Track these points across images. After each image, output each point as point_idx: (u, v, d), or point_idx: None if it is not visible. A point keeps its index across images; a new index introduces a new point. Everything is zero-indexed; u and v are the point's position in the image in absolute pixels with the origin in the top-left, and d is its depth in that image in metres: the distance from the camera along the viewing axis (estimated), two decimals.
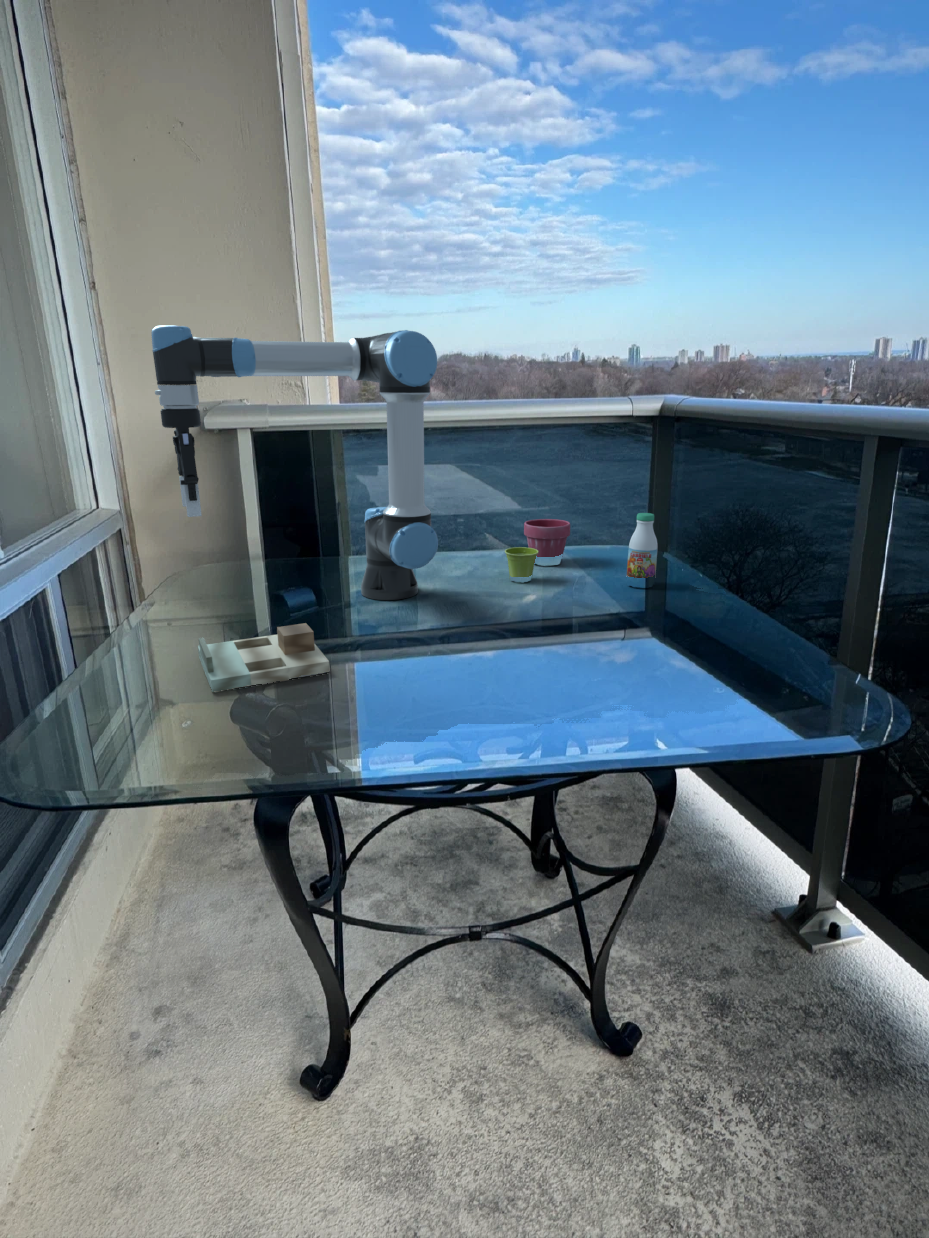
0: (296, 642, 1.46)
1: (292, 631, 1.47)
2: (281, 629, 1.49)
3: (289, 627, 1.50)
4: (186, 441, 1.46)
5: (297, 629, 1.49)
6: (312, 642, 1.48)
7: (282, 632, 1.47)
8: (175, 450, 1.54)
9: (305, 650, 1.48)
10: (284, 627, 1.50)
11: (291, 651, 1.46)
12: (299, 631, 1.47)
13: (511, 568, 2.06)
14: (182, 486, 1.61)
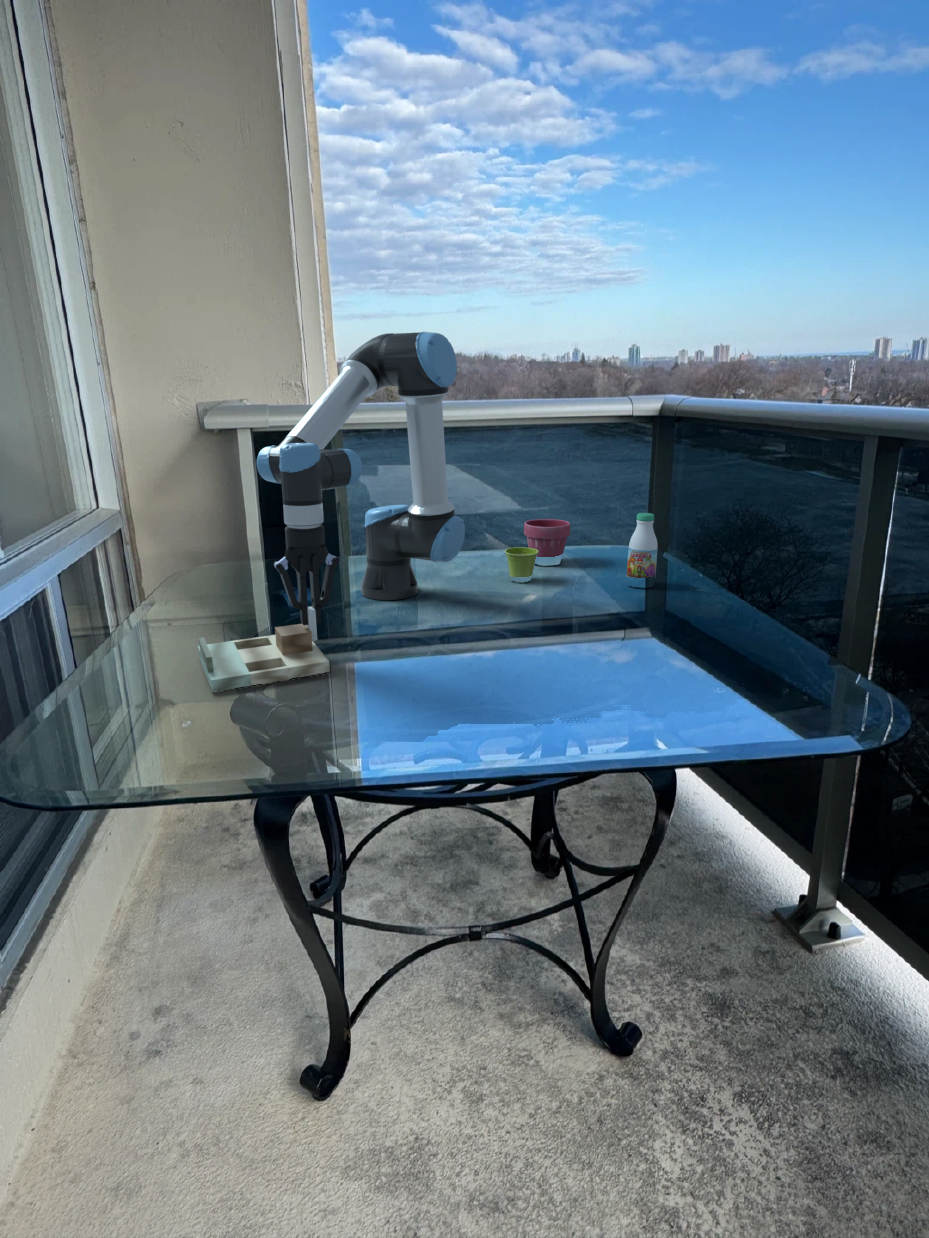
0: (294, 643, 1.46)
1: (290, 632, 1.47)
2: (279, 629, 1.48)
3: (287, 627, 1.50)
4: None
5: (295, 629, 1.49)
6: (310, 642, 1.48)
7: (280, 632, 1.47)
8: None
9: (303, 650, 1.48)
10: (282, 627, 1.50)
11: (289, 651, 1.46)
12: (296, 631, 1.47)
13: (511, 568, 2.06)
14: None
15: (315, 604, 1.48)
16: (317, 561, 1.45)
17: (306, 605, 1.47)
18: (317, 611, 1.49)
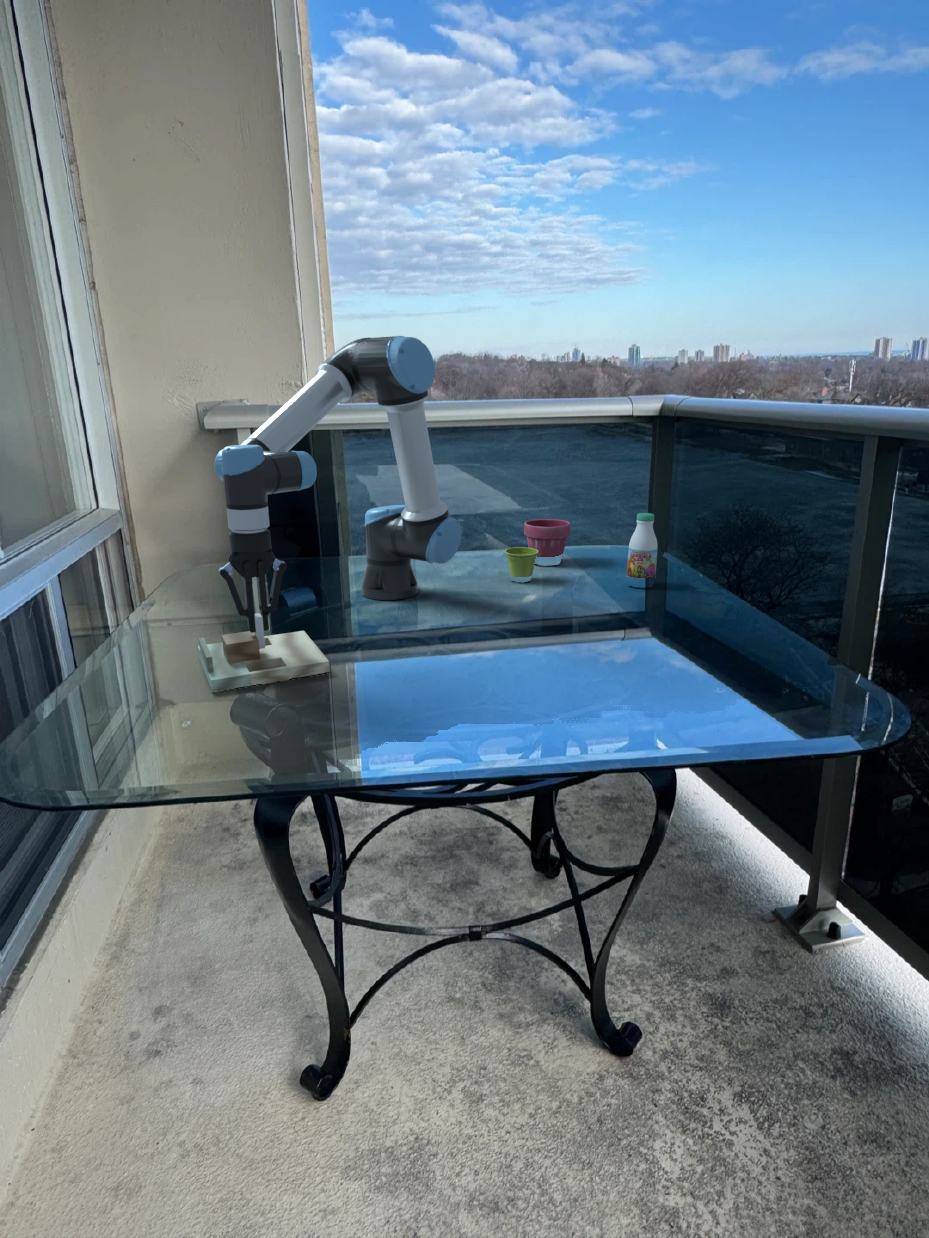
0: (240, 651, 1.42)
1: (236, 639, 1.43)
2: (226, 637, 1.44)
3: (234, 635, 1.45)
4: None
5: (242, 637, 1.44)
6: (257, 650, 1.43)
7: (226, 640, 1.42)
8: None
9: (250, 659, 1.43)
10: (229, 635, 1.45)
11: (235, 659, 1.42)
12: (243, 639, 1.43)
13: (511, 568, 2.06)
14: None
15: (262, 611, 1.43)
16: (263, 567, 1.40)
17: (253, 612, 1.43)
18: (264, 618, 1.44)
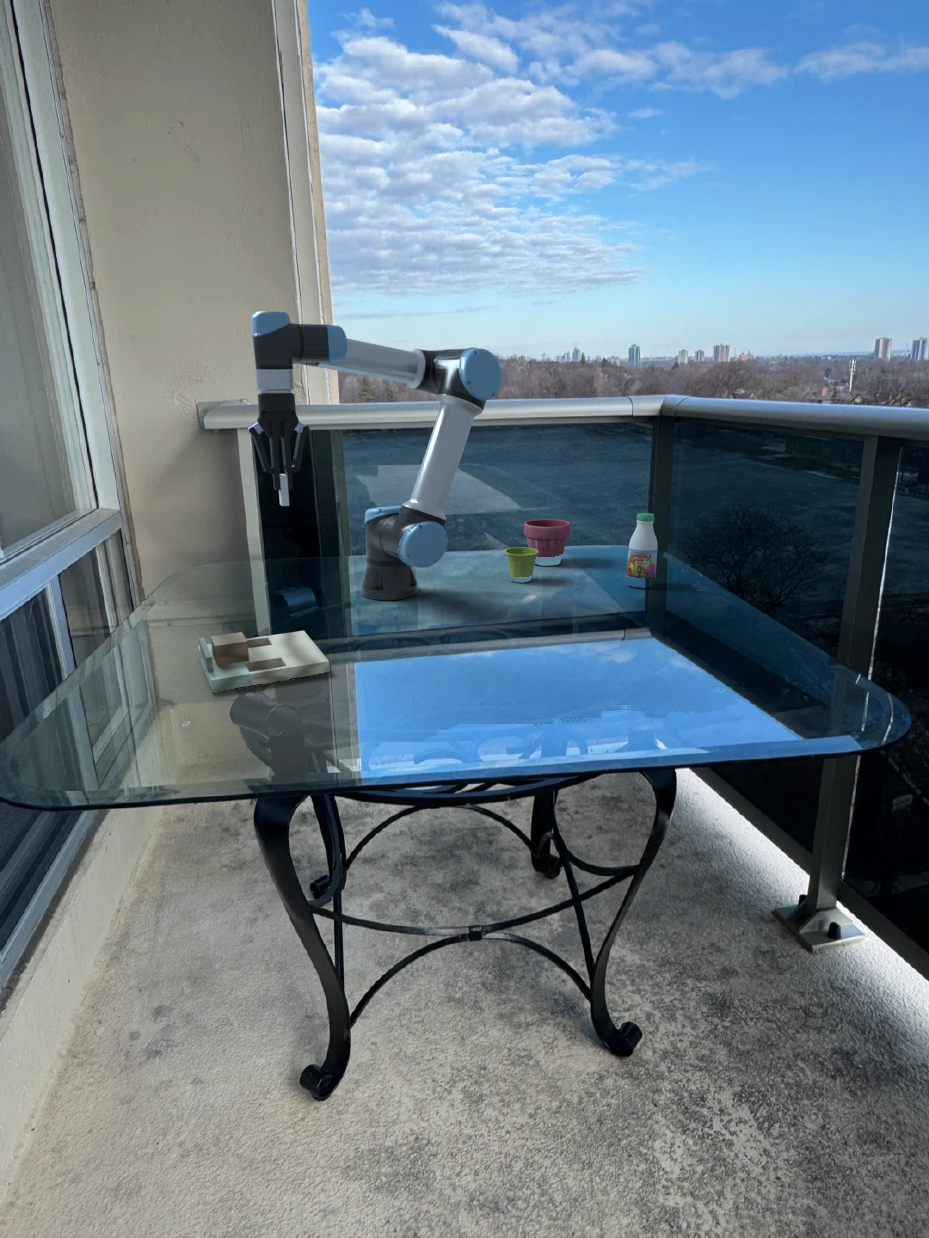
0: (229, 652, 1.41)
1: (225, 641, 1.42)
2: (214, 639, 1.43)
3: (223, 636, 1.44)
4: (251, 435, 1.53)
5: (231, 638, 1.43)
6: (246, 652, 1.43)
7: (214, 642, 1.42)
8: None
9: (239, 660, 1.42)
10: (218, 636, 1.44)
11: (224, 661, 1.41)
12: (232, 641, 1.42)
13: (511, 568, 2.06)
14: None
15: (287, 470, 1.58)
16: (288, 427, 1.54)
17: (278, 470, 1.57)
18: (289, 478, 1.59)
